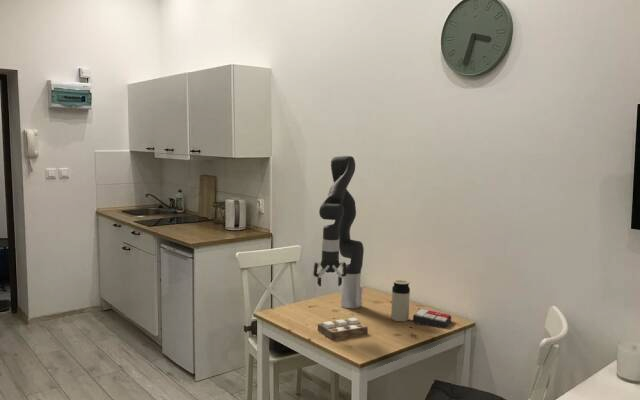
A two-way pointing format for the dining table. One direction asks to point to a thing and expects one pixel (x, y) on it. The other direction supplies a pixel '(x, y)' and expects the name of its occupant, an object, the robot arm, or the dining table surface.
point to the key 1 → (328, 325)
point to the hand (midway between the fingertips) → (329, 285)
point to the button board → (343, 331)
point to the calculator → (432, 318)
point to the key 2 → (352, 321)
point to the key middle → (340, 323)
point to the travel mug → (400, 300)
